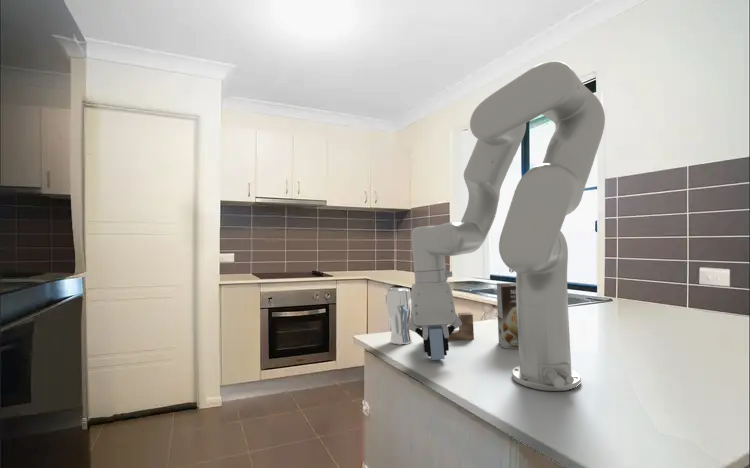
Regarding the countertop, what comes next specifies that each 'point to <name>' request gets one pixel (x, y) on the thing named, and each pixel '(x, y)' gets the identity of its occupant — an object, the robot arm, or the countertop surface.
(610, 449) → the countertop surface
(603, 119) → the robot arm
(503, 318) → the coffee box
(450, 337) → the brown wooden u-shaped block
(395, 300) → the beer glass
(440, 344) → the pale blue tapered slab
